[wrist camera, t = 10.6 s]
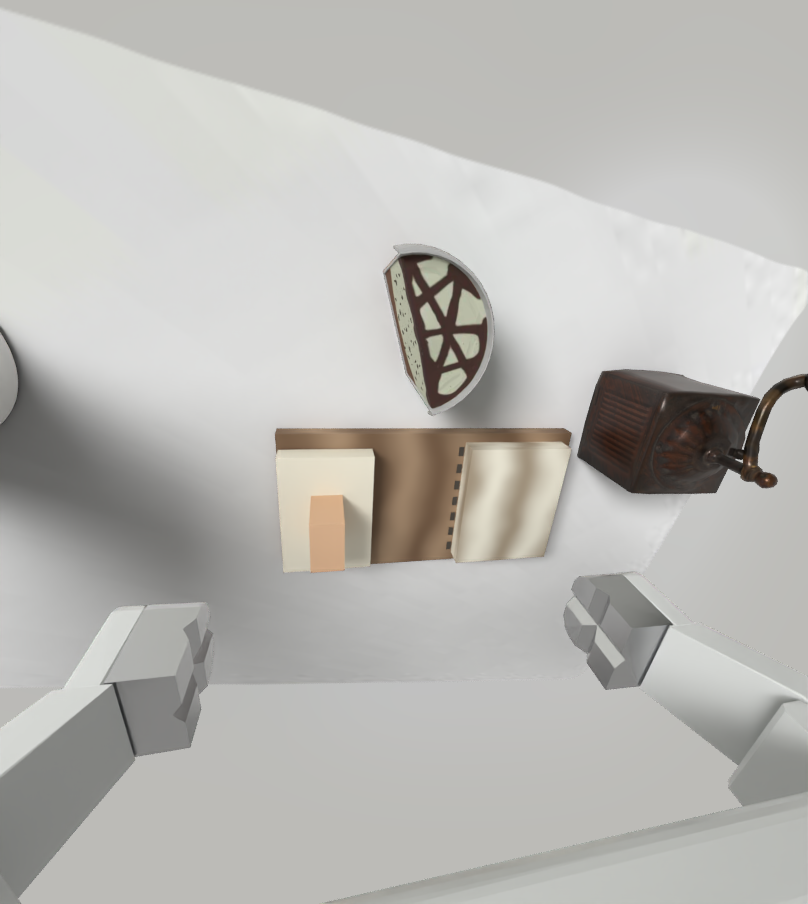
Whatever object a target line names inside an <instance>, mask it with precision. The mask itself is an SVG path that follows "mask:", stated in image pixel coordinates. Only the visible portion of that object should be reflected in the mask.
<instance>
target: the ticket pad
mask: <svg viewBox="0 0 808 904" xmlns="http://www.w3.org/2000/svg"><path fill="white" fill-rule="evenodd" d="M571 434H572V433H571V432H569V431H567V430H566V429H564V428H440V429H277V430H276V433H275V440H276V455H277V451H278V450H297V449H373V453H374V456H375V461H374V486H373V510H372V534H371V559H370V564H378V563H393V562H407V561H422V560H436V559H451V558H454V560H455V562H456V563H461V562H475V561H489V560H503V559H517V558H531V557H544V554H545V550H546V546H547V542H548V538H549V534H550V531H551V527H552V523H553V519H554V515H555V511H556V507H557V504H558V500H559V496H560V492H561V488H562V484H563V480H564V477H565V473H566V469H567V465H568V461H569V457H570V453H571V448H570V447H568V445H569V441H570V438H571Z"/></svg>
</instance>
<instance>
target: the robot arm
mask: <svg viewBox="0 0 808 904" xmlns="http://www.w3.org/2000/svg"><path fill="white" fill-rule="evenodd" d="M17 392H18V376H17V370H16V365H15V362H14V359H13V356H12V353H11V351H10V349H9V347H8V345H7V343H6V341H5V339H4V338H3V336H2V334H1V333H0V424H1V423H3V421H4V420H5V419H6V418H7V417H8V415H9V414H10V412H11V410H12V409H13V406H14V404H15V401H16V397H17ZM571 590H572V592H573V594H574V597H573V598H572V599H571V600H570V601H569V602H568V603H567V604H566V607H565V611H564V623H565V628H566V631H567V633H568V635H569V637H570V639H571V640H572V642H573V643H574V645H575V646H577V647H578V648H580V649H581V650H583V651H584V652H586V653H587V664H588V665H589V667H590V668H591V669H592V671H593V672H594V673H595V675H596V677H597V678H598V680H599V681H600V682H601V684H602V685H603V687H604V688H605V689H606V690H608V689H617V688H626V687H636V686H640V689H641V690H642V691H644V692H645V693H646V694H647V695H649V696H650V697H651V698H652V699H654V700H655V701H656V702H658V703H659V704H660V705H661V706H663V707H664V708H665V709H667V710H668V711H669V712H670V713H672V714H673V715H674V716H676V717H677V718H678V719H679V720H681V721H682V722H683V723H684V724H686V725H687V726H688V727H690V728H691V729H692V730H694V731H695V732H696V733H697V734H699V735H700V736H701V737H702V738H704V739H705V740H706V741H708V742H709V743H710V744H711V745H713V746H714V747H715V748H717V749H718V750H719V751H720V752H722V753H723V754H724V755H726V756H727V757H728V758H729V759H731V760H732V761H733V762H734V763H736V764H737V765H738V767H737V769H736V770H735V771H734V773H733V774H732V775H731V777H730V778H729V780H728V783H729V784H728V786H729V789H730V790H731V792H732V793H733V794H734V796H735V797H736V798H737V799H738V801H739V802H740V803H741V804H742V806H743V807H738V808H734V809H730V810H725V811H721V812H717V813H712V814H708V815H704V816H699V817H695V818H690V819H686V820H682V821H678V822H673V823H669V824H664V825H660V826H656V827H652V828H647V829H643V830H639V831H634V832H630V833H626V834H621V835H617V836H612V837H608V838H603V839H599V840H595V841H590V842H586V843H582V844H578V845H573V846H569V847H564V848H560V849H556V850H551V851H547V852H543V853H538V854H534V855H530V856H525V857H521V858H516V859H512V860H508V861H504V862H499V863H495V864H490V865H486V866H482V867H477V868H473V869H469V870H464V871H460V872H456V873H451V874H447V875H443V876H438V877H434V878H429V879H425V880H421V881H416V882H413V883H408V884H403V885H399V886H395V887H391V888H386V889H382V890H377V891H374V892H369V893H364V894H360V895H356V896H351V897H347V898H343V899H338V900H334V901H330V902H325V903H321V904H808V676H807V675H805V674H803V673H801V672H799V671H797V670H795V669H793V668H791V667H789V666H787V665H785V664H783V663H781V662H779V661H777V660H775V659H773V658H771V657H769V656H767V655H765V654H763V653H761V652H759V651H757V650H755V649H753V648H751V647H749V646H747V645H745V644H743V643H741V642H738V641H737V640H735V639H733V638H731V637H729V636H727V635H725V634H722V633H721V632H718V631H716V630H714V629H712V628H710V627H708V626H706V625H704V624H702V623H694V622H693V621H692V620H691V619H690V618H689V617H688V616H687V615H686V614H685V613H684V612H682V611H681V610H680V609H679V608H678V607H677V606H676V605H675V604H674V603H673V602H672V601H670V600H669V599H668V598H667V597H666V596H665V595H664V594H663V593H662V592H661V591H660V590H658V589H657V588H656V587H655V586H654V585H653V584H652V583H651V582H650V581H649V580H648V579H647V578H646V577H645V576H643V575H642V574H639V573H637V572H625V573H616V574H602V575H590V576H579V577H578V578H577V579H576V580H575V581H574V583H573V586H572V589H571ZM209 619H210V612H209V607H208V604H207V603H205V602H196V603H174V604H152V605H146V606H120V607H118V608H117V609H115V610H114V611H113V612H112V613H111V614H110V615H109V617H108V618H107V620H106V621H105V623H104V625H103V626H102V628H101V629H100V631H99V633H98V634H97V636H96V637H95V639H94V640H93V642H92V644H91V645H90V647H89V648H88V650H87V652H86V653H85V655H84V656H83V658H82V659H81V661H80V663H79V664H78V666H77V667H76V669H75V670H74V672H73V674H72V675H71V677H70V678H69V680H68V682H67V683H66V685H65V686H64V688H63V689H58V690H52V691H50V692H49V693H48V694H46V695H45V696H44V697H42V698H41V699H39V700H38V701H37V702H35V703H34V704H33V705H31V706H30V707H29V708H27V709H26V710H24V711H23V712H22V713H20V714H19V715H18V716H16V717H15V718H14V719H12V720H11V721H9V722H8V723H7V724H5V725H4V726H3V727H1V728H0V904H21V903H20V901H19V900H18V898H19V897H20V895H21V894H22V893H23V892H24V891H25V890H26V888H27V887H28V886H29V885H30V884H31V882H32V881H33V880H34V879H35V878H36V876H37V875H38V874H39V873H40V872H41V871H42V869H43V868H44V867H45V866H46V865H47V863H48V862H49V861H50V860H51V859H52V858H53V856H54V855H55V854H56V853H57V852H58V851H59V849H60V848H61V847H62V846H63V845H64V843H65V842H66V841H67V840H68V839H69V838H70V836H71V835H72V834H73V833H74V832H75V831H76V829H77V828H78V827H79V826H80V825H81V824H82V822H83V821H84V820H85V819H86V818H87V816H88V815H89V814H90V813H91V812H92V811H93V809H94V808H95V807H96V806H97V805H98V803H99V802H100V801H101V800H102V799H103V798H104V796H105V795H106V794H107V793H108V792H109V791H110V789H111V788H112V787H113V786H114V784H115V783H116V782H117V781H118V780H119V779H120V777H121V776H122V775H123V774H124V773H125V772H126V770H127V769H128V768H129V767H130V766H131V765H132V763H133V762H134V761H135V757H137V756H143V755H149V754H154V753H161V752H167V751H173V750H179V749H184V748H190V746H191V743H192V739H193V736H194V732H195V729H196V725H197V722H198V718H199V715H200V711H201V705H200V699H199V694H200V693H201V692H202V691H203V690H204V689H205V688H206V687H207V686H208V683H209V679H210V675H211V671H212V664H213V657H214V640H213V633H211V632H210V631H209V630H208V629H207V625H208V622H209Z"/></svg>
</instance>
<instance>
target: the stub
mask: <svg viewBox="0 0 808 904" xmlns="http://www.w3.org/2000/svg"><path fill="white" fill-rule="evenodd" d="M275 459H276V473H277V487H278V502H279V516H280V530H281V544H282V559H283V573H285V572H299V571H311V573H314V572H328V571H342V570H345V568H356V567H370V559H371V534H372V510H373V486H374V461H375V456H374V453H373V449H297V450H278V451H277V455H276V458H275Z"/></svg>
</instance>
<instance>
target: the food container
mask: <svg viewBox="0 0 808 904" xmlns="http://www.w3.org/2000/svg"><path fill="white" fill-rule="evenodd" d="M394 249H395V250H397V251H398V254H397V255H396V257H395V258H394V259H393V260H392V261H391V262H390V264H389V265H388V266H387V267H386V268H385V269H384V270H383V274H384V279H385V283H386V288H387V292H388V297H389V301H390V306H391V310H392V315H393V319H394V324H395V328H396V333H397V337H398V342H399V346H400V351H401V355H402V360H403V364H404V369H405V373H406V375H407V377H408V378H409V380H410V382H411V383H412V385H413V386H414V388H415V389H416V391H417V392H418V394H419V395H420V397H421V398H422V400H423V402H424V403H425V405H426V406H427V408H428V409H429V411H428V414H429V415H431V416H433V415H436V414H439V413H441V412H444V411H446V410H448V409H449V408H451V407H453V406H455V405H456V404H457V403H459V402H460V401H461V400H463V399H464V398H465V397H466V396H467V395H468V394H469V393H470V392H471V391H472V390H473V388H474V387H475V386H476V385H477V383H478V382H479V381H480V379H481V377H482V375H483V374H484V372H485V370H486V367H487V365H488V362H489V360H490V356H491V352H492V348H493V342H494V318H493V312H492V307H491V304H490V301H489V298H488V295H487V293H486V291H485V290H484V288H483V286H482V284H481V282H480V281H479V280H478V278H477V277H476V276H475V274H474V273H473V272H472V271H471V270H470V269H469V268H468V267H467V266H466V265H464V264H463V263H462V262H461V261H460V260H458V259H457V258H455V257H454V256H452V255H450V254H449V253H447V252H445V251H443V250H440V249H438V248H435V247H431V246H427V245H422V244H402V245H395V246H394Z"/></svg>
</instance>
